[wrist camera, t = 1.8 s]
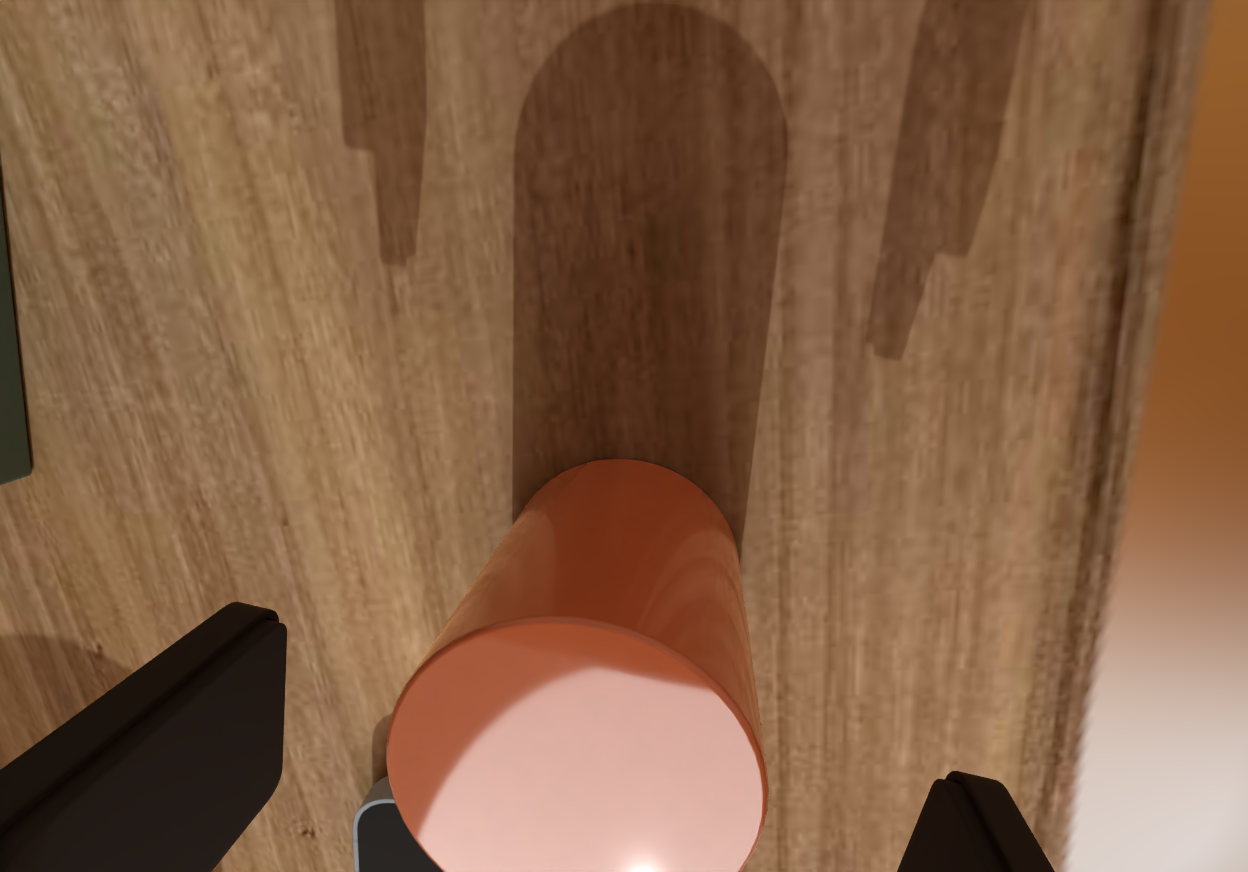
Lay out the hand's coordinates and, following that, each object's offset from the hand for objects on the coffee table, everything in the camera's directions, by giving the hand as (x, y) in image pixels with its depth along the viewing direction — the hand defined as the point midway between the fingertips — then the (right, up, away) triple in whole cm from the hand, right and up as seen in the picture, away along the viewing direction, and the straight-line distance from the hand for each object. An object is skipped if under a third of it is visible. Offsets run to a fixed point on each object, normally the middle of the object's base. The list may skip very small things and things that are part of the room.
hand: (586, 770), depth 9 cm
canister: (+1, +2, +5) cm, 5 cm away
